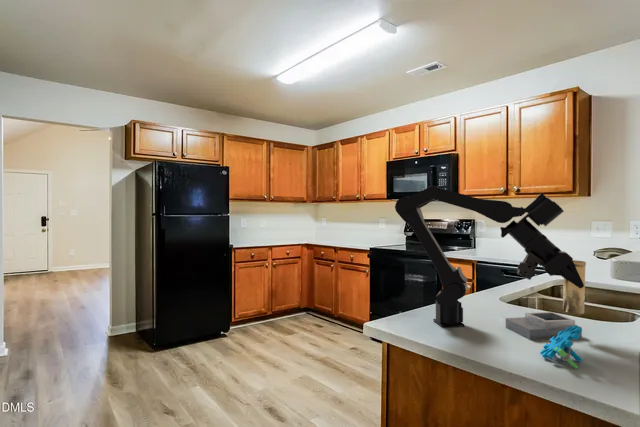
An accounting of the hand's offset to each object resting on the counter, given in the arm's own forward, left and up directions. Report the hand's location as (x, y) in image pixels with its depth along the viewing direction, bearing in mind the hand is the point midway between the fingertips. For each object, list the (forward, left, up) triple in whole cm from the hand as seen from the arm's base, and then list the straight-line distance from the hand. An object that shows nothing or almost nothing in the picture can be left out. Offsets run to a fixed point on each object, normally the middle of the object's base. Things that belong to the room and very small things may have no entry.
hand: (580, 285), depth 93 cm
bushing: (-1, +1, -7) cm, 7 cm away
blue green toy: (-14, -11, -14) cm, 23 cm away
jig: (-6, +6, -13) cm, 16 cm away
